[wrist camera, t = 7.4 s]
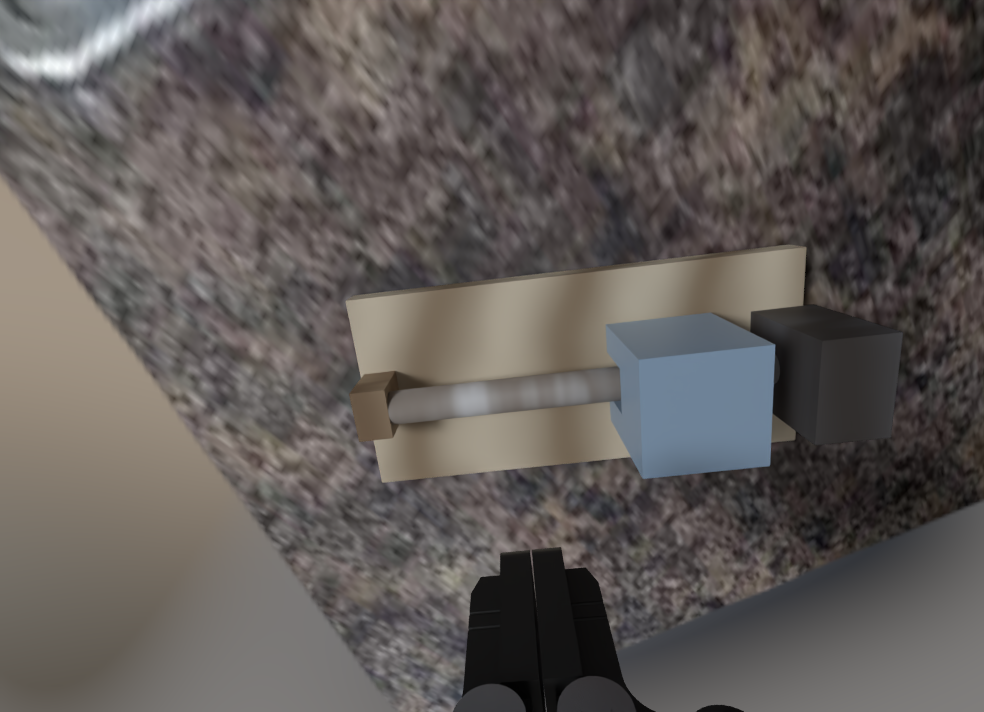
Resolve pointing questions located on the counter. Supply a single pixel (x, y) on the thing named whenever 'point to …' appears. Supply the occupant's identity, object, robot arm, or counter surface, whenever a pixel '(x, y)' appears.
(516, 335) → the rail board
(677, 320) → the blue sleeve
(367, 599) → the counter surface
